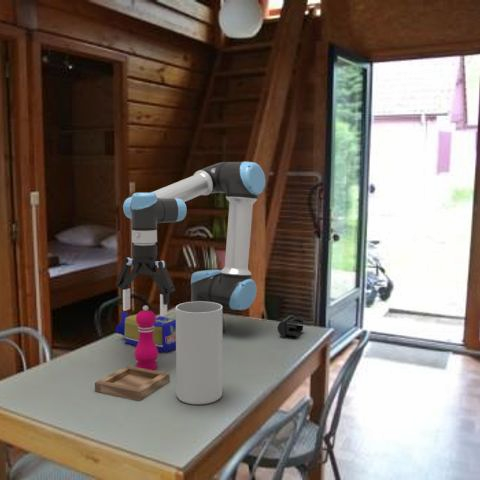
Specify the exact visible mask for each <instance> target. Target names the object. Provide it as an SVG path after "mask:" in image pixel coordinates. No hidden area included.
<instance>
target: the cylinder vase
mask: <svg viewBox="0 0 480 480" xmlns="http://www.w3.org/2000/svg"><path fill="white" fill-rule="evenodd" d="M222 313H223V307H222V305H220V304H218V303H214V302H204V301H196V302H191V301H186V302H183V303H179V304H177V305H176V306H175V320H176V349H175V362H176V363H175V369H176V371H175V375H176V376H175V377H176V378H175V379H176V380H175V381H176V382H175V383H176V385H175V386H176V393H175V394H176V397H177V399H178V400H179V401H181V402H183V403H185V404H190V405H208V404H212V403H215V402H217V401H218V400H219V399H221V398H222V395H223V332H222Z"/></svg>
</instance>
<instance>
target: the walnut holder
mask: <svg viewBox="0 0 480 480" xmlns="http://www.w3.org/2000/svg"><path fill="white" fill-rule="evenodd" d="M170 376H171V374H170V373H169V372H164V371H158V370H148V369H143V368H137V367H136V366H132V365H125V366H124V367H121V368H119V369H118V370H115V371H114V372H113V373H111V374H109V375H107V376H105V377H103V378H101V379H99V380H97V381H96V382H94V392H95V393H101V394H105V395H109V396H115V397H119V398H123V399H129V400H133V401H137V402H140V401H142V400H143V399H145V398H146V397H148V396H150V395H151V394H154V392H156V391H158V390H160V389H161V388H163V387H164V386H165V385H167V384H168V383H170V381H171V380H170V379H171V378H170Z"/></svg>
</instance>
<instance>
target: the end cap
mask: <svg viewBox="0 0 480 480" xmlns="http://www.w3.org/2000/svg"><path fill="white" fill-rule="evenodd" d="M299 323H304V318H303V317H297V316H295V317H294V314H290V315H288V316H287V317H285V318H284V319H283V320H281V321H280V322H279V323H278V326H277V332H278V334H279V335H280V336H281V337H282V338H283V339H286V340H292V341H293V340H294V341H295V340H297V339H299V338H300V337H301V336H302V335H303V333H304V332H303V331H304V326H303V325H299Z"/></svg>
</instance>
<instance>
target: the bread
mask: <svg viewBox="0 0 480 480" xmlns="http://www.w3.org/2000/svg"><path fill="white" fill-rule="evenodd" d="M137 314H138V313H136V314H133V315H129V314H128V313H127V312H126V311H121V315H120V316H121V320H120V322H119V323H118V324H117V325H116V327H115V330H114V334H119V335H122V336H123V337H124V342H125V343H126V344H127V345H132V346H135V347H137V344H138V341H139V331H138V326H139V325H138V324H137V322H136V316H137ZM155 317H156V320H155V322H154V324H153V325H154V330H153V340H154V343H155V345H156V347H157V350H158V353H162V354H166V353H168V352H171V351H173V350H176V318H175V319H174V318H169V317H165V316H160V315H157V314H155Z"/></svg>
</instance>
